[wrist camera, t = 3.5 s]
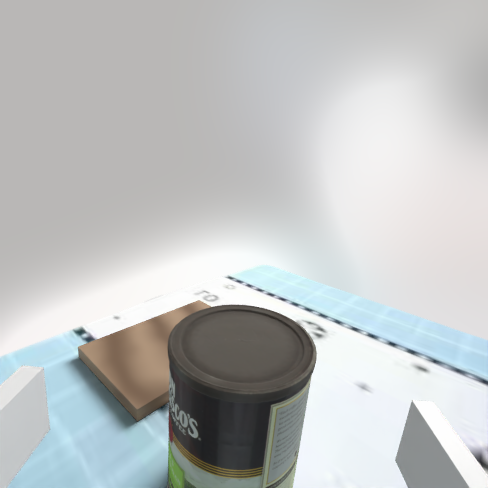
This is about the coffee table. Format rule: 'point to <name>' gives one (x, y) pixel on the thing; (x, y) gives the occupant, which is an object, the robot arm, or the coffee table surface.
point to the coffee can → (237, 398)
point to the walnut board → (137, 361)
